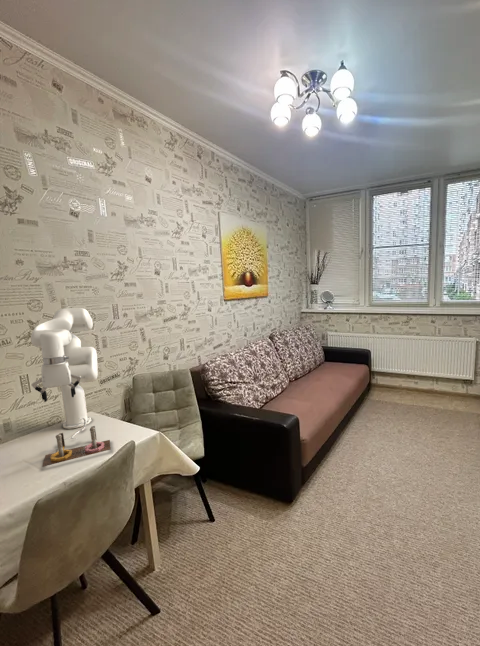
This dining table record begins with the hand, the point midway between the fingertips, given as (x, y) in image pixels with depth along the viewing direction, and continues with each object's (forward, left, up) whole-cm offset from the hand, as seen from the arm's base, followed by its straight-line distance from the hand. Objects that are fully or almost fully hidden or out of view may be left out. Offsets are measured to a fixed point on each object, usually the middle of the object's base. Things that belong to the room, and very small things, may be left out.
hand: (59, 398), depth 134 cm
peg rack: (+9, +5, -24) cm, 26 cm away
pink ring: (+7, +11, -23) cm, 26 cm away
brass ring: (+7, -1, -23) cm, 24 cm away
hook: (-11, +3, -24) cm, 27 cm away
